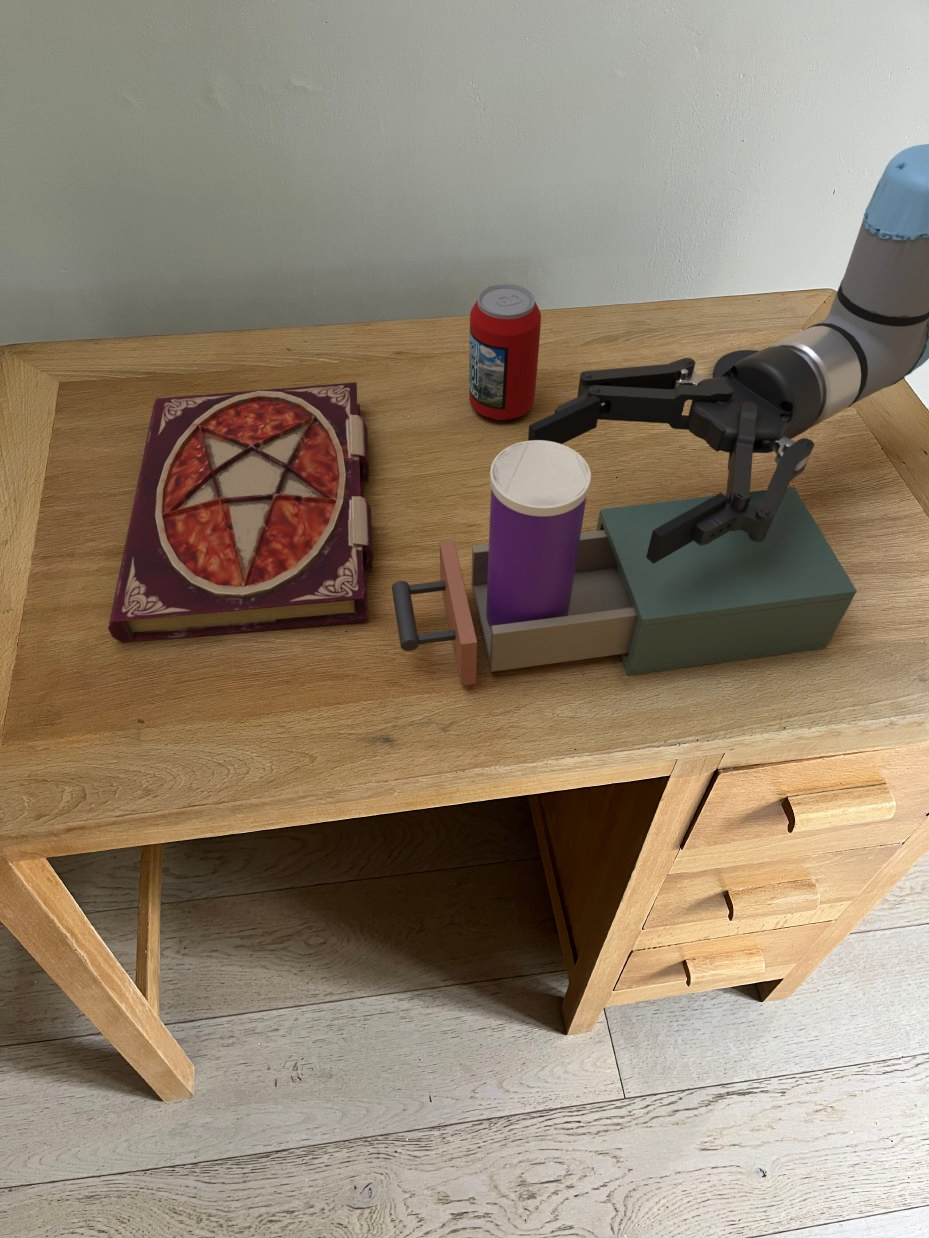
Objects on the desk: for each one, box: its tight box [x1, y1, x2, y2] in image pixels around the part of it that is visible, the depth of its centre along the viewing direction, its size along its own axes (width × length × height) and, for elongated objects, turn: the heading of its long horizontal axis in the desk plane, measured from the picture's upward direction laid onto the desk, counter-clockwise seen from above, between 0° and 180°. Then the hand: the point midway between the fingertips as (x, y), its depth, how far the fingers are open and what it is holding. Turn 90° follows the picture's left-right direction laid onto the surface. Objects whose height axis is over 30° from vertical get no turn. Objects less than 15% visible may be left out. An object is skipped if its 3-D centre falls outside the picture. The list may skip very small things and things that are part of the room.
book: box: [107, 381, 374, 643], centre depth 77 cm, size 28×21×5 cm
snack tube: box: [486, 440, 592, 628], centre depth 63 cm, size 7×7×15 cm
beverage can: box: [468, 283, 542, 421], centre depth 84 cm, size 7×7×12 cm
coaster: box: [712, 349, 760, 378], centre depth 91 cm, size 9×9×1 cm
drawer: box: [391, 530, 638, 686], centre depth 67 cm, size 20×10×5 cm, turn 100°
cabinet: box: [595, 486, 858, 676], centre depth 69 cm, size 17×12×7 cm
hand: (588, 492), depth 62 cm, fingers open, 13 cm apart
